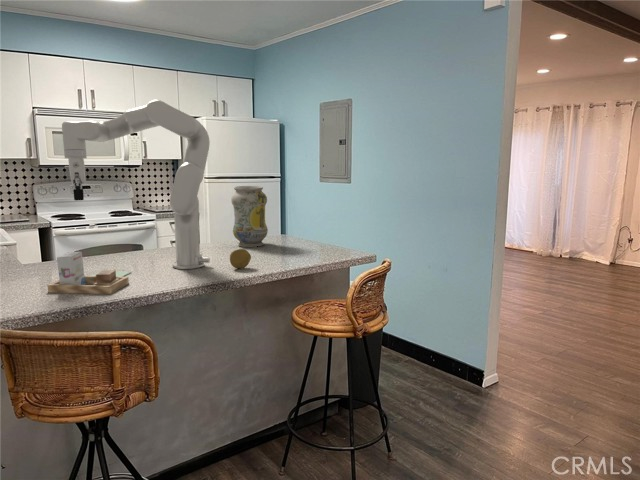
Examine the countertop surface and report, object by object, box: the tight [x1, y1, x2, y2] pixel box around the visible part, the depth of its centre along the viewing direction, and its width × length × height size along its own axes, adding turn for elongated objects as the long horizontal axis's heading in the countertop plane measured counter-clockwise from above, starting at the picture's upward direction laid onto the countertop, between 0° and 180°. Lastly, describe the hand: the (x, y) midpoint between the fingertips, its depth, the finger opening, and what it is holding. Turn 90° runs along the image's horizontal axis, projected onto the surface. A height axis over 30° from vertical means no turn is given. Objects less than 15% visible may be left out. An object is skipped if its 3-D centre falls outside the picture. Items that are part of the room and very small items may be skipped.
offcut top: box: [95, 269, 117, 283], centre depth 157 cm, size 4×6×3 cm
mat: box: [90, 270, 132, 277], centre depth 173 cm, size 12×14×1 cm
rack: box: [47, 275, 130, 295], centre depth 158 cm, size 21×13×2 cm, turn 86°
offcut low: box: [93, 279, 119, 286], centre depth 158 cm, size 5×7×3 cm
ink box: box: [56, 251, 86, 285], centre depth 158 cm, size 9×5×12 cm, turn 5°
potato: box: [229, 248, 252, 269], centre depth 187 cm, size 7×8×8 cm
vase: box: [231, 185, 269, 248], centre depth 236 cm, size 18×18×30 cm
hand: (79, 199), depth 181 cm, fingers open, 9 cm apart
